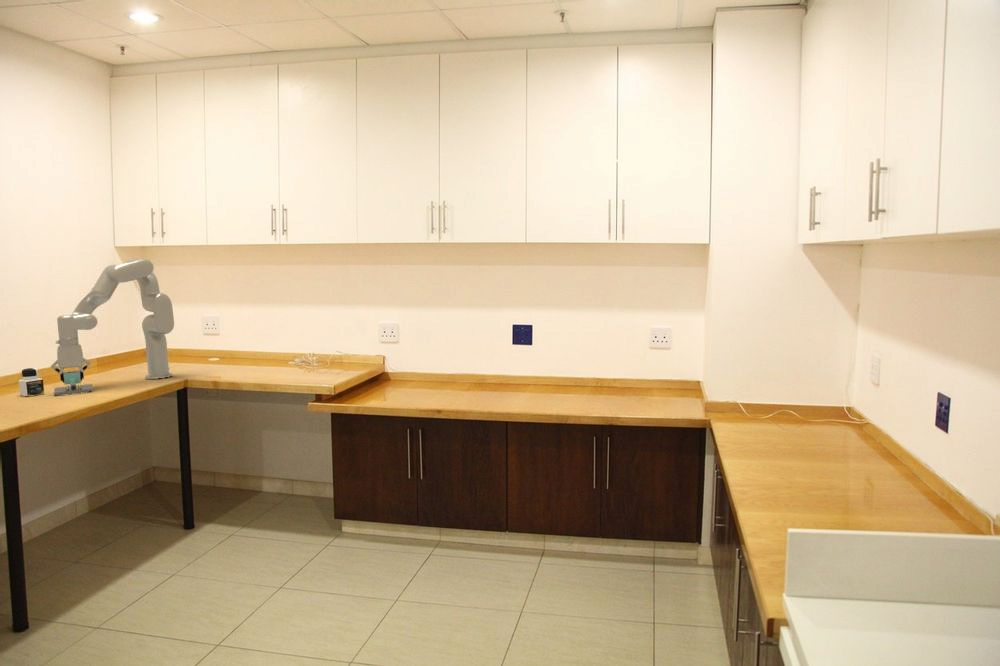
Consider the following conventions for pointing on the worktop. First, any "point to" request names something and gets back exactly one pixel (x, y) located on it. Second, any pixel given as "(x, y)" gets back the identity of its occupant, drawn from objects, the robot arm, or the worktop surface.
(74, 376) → the teal hollow square block
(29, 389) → the medicine bottle
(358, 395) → the worktop surface
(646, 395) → the worktop surface
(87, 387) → the post base
